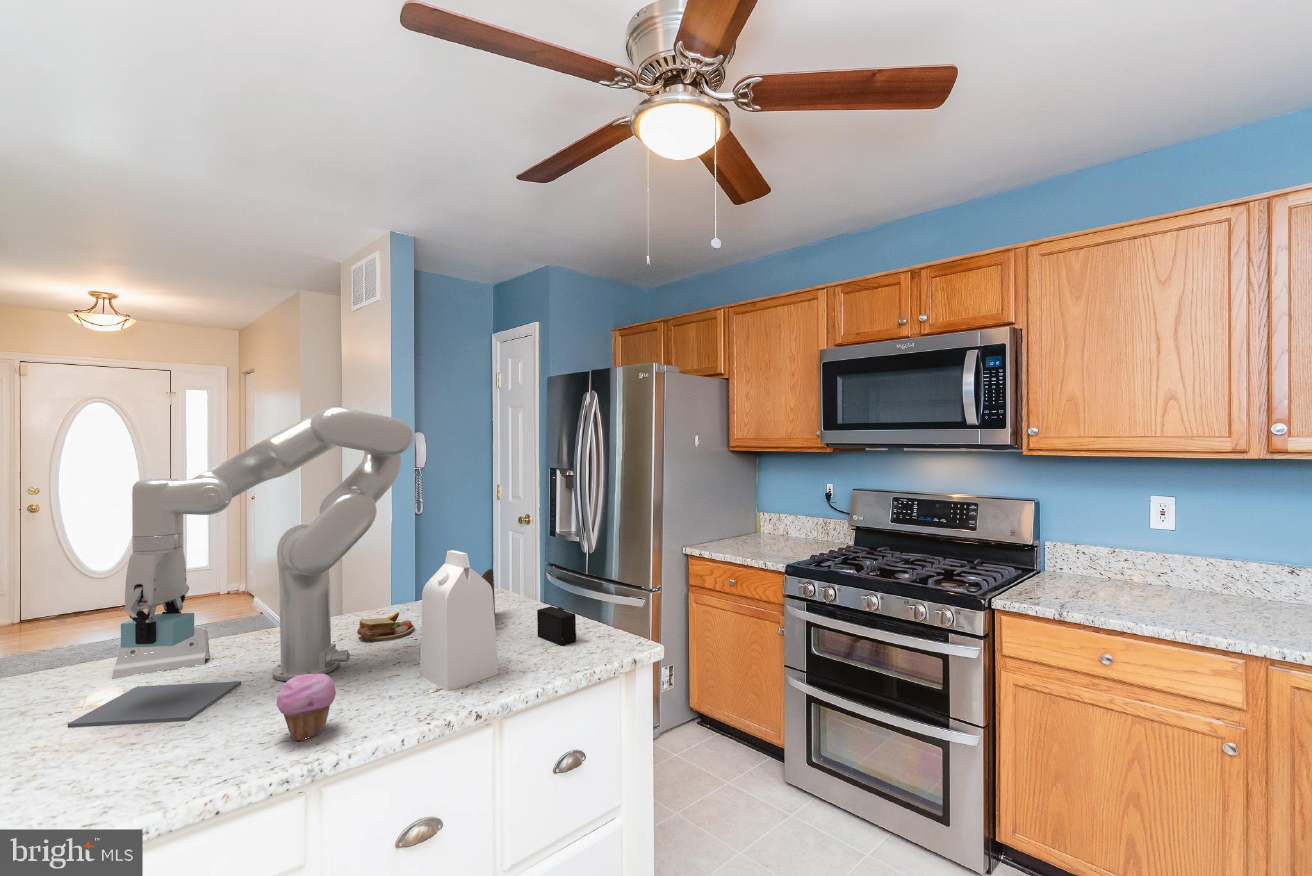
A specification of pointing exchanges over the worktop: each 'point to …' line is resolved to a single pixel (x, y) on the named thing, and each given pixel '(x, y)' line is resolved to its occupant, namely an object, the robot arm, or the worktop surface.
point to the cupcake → (306, 704)
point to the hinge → (163, 656)
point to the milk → (457, 626)
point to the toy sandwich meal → (384, 628)
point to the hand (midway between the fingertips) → (158, 636)
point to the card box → (161, 630)
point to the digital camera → (556, 625)
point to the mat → (157, 704)
